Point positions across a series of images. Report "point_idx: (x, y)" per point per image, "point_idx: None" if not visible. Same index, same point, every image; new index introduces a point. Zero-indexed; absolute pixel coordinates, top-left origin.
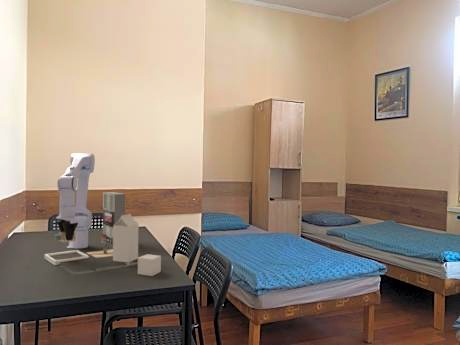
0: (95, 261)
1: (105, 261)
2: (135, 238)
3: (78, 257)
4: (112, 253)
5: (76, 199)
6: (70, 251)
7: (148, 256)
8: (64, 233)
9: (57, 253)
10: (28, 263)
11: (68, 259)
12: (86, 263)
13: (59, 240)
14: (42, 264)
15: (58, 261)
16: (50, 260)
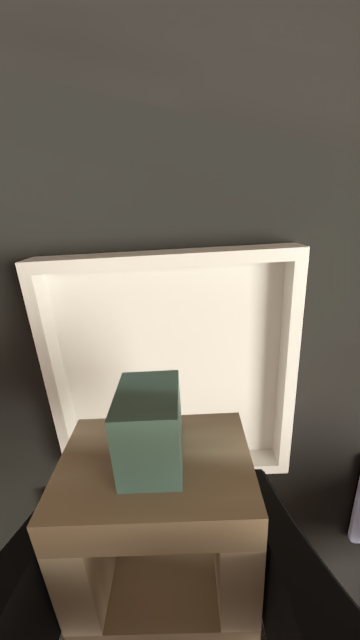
0: (33, 475)
1: (10, 509)
2: None
3: (55, 424)
4: None
5: None
6: (280, 430)
7: None
8: (64, 556)
9: (285, 344)
10: (209, 77)
11: (41, 360)
12: (5, 428)
13: (194, 418)
14: (110, 183)
15: (28, 289)
16: (133, 253)
